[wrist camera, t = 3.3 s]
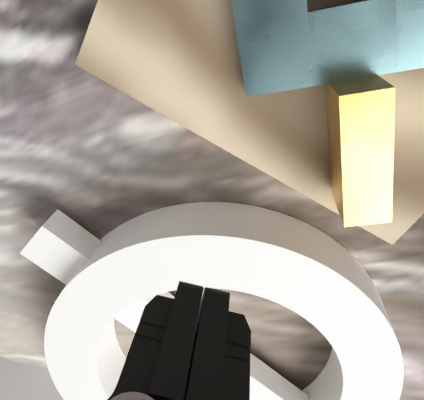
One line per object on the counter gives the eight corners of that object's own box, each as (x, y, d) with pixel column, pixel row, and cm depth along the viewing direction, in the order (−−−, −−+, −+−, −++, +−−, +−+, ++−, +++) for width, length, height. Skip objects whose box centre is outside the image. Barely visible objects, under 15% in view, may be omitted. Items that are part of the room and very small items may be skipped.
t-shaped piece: (209, -161, 17) (196, -201, 13) (488, -242, 15) (559, -315, 11) (262, 201, 25) (263, 235, 21) (448, 179, 23) (483, 212, 19)
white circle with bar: (361, 439, 40) (374, 492, 36) (100, 421, 43) (84, 466, 39) (414, 200, 27) (443, 238, 23) (33, 198, 30) (-3, 232, 26)
